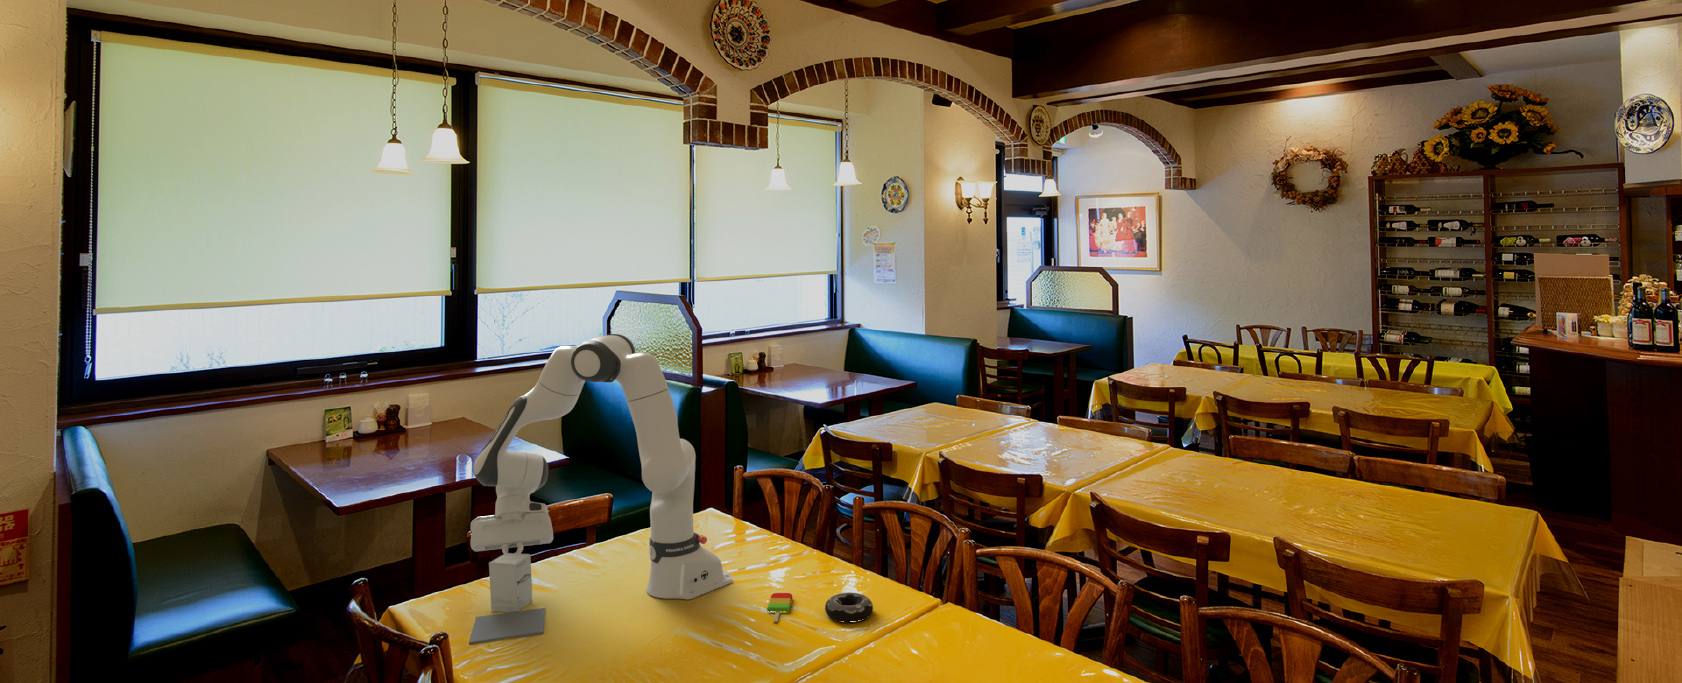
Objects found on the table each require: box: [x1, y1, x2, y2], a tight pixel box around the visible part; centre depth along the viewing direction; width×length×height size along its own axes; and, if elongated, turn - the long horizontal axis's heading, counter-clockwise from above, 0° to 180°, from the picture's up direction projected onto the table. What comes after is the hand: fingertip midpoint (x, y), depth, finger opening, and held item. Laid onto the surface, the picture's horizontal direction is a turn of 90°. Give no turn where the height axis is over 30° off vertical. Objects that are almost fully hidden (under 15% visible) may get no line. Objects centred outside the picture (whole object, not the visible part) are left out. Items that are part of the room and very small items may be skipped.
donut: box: [824, 592, 874, 622], centre depth 202 cm, size 12×12×4 cm
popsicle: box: [766, 592, 793, 623], centre depth 205 cm, size 6×15×2 cm, turn 178°
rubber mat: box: [468, 607, 546, 645], centre depth 198 cm, size 14×16×1 cm
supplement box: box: [488, 552, 533, 613], centre depth 208 cm, size 7×7×13 cm
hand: (512, 561), depth 213 cm, fingers closed
